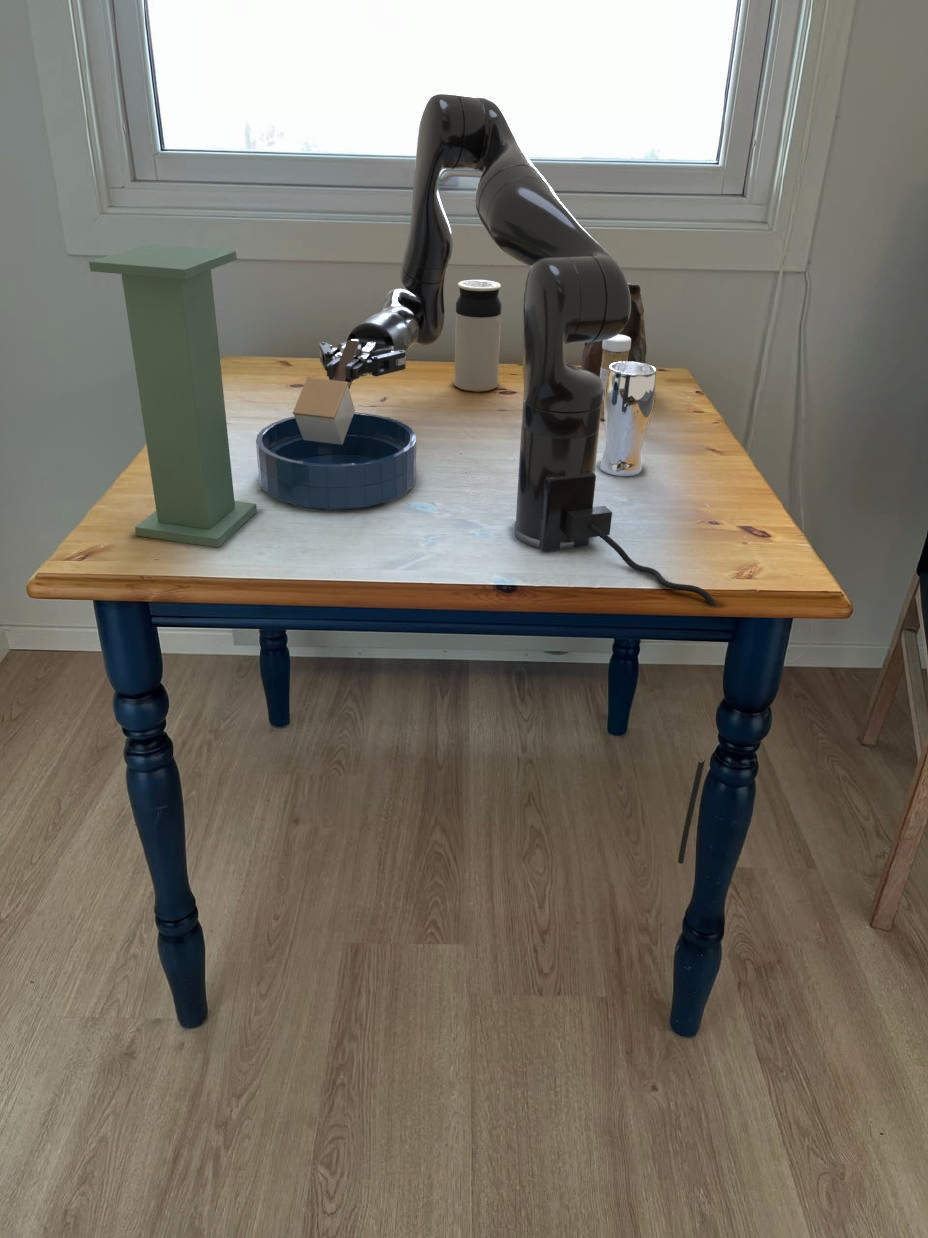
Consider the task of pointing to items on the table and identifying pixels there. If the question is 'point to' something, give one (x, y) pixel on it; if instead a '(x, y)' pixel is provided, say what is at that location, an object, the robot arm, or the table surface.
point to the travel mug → (477, 335)
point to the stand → (180, 390)
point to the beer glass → (627, 416)
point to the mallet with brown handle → (328, 403)
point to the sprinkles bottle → (613, 358)
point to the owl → (632, 330)
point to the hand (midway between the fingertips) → (339, 373)
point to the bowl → (338, 464)
